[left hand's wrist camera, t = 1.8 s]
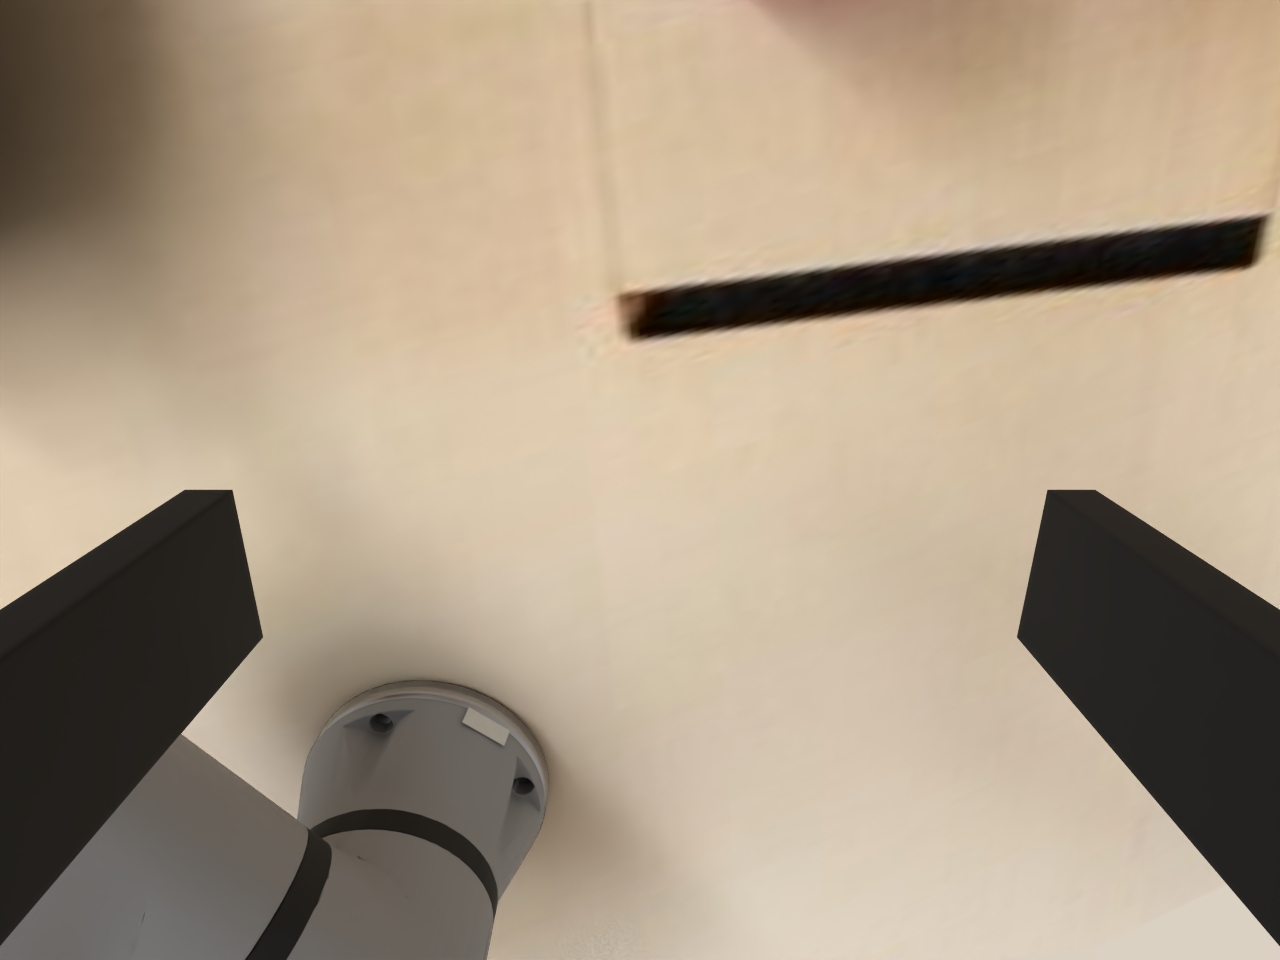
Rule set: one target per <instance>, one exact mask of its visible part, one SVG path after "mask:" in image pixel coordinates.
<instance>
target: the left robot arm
mask: <svg viewBox="0 0 1280 960" xmlns="http://www.w3.org/2000/svg"><path fill="white" fill-rule="evenodd" d="M262 638H263V635H262V630H261V625H260V620H259V616H258V611H257V606H256V601H255V596H254V592H253V587H252V582H251V577H250V572H249V567H248V563H247V558H246V553H245V548H244V543H243V539H242V534H241V529H240V524H239V519H238V515H237V510H236V505H235V500H234V495H233V491H232V490H184V491H182V492H181V493H179V494H178V495H176V496H175V497H173V498H172V499H170V500H169V501H167V502H165V503H164V504H162V505H161V506H159V507H158V508H156V509H155V510H153V511H152V512H150V513H149V514H147V515H145V516H144V517H142V518H141V519H139V520H138V521H136V522H135V523H133V524H132V525H130V526H129V527H127V528H125V529H124V530H122V531H121V532H119V533H118V534H116V535H115V536H113V537H112V538H110V539H109V540H107V541H105V542H104V543H102V544H101V545H99V546H98V547H96V548H95V549H93V550H92V551H90V552H89V553H87V554H85V555H84V556H82V557H81V558H79V559H78V560H76V561H75V562H73V563H72V564H70V565H69V566H67V567H65V568H64V569H62V570H61V571H59V572H58V573H56V574H55V575H53V576H52V577H50V578H49V579H47V580H45V581H44V582H42V583H41V584H39V585H38V586H36V587H35V588H33V589H32V590H30V591H29V592H27V593H25V594H24V595H22V596H21V597H19V598H18V599H16V600H15V601H13V602H12V603H10V604H9V605H7V606H5V607H4V608H2V609H1V610H0V960H487V955H488V950H489V945H490V939H491V934H492V928H493V923H494V918H495V913H496V908H497V904H498V901H499V899H500V898H501V896H502V894H503V893H504V891H505V889H506V888H507V886H508V884H509V883H510V881H511V879H512V878H513V876H514V874H515V873H516V871H517V870H518V868H519V866H520V865H521V863H522V861H523V860H524V858H525V856H526V855H527V853H528V851H529V850H530V848H531V846H532V845H533V843H534V841H535V839H536V837H537V835H538V833H539V831H540V829H541V826H542V823H543V820H544V815H545V809H546V803H547V796H548V787H549V779H548V770H547V765H546V761H545V758H544V755H543V753H542V751H541V748H540V746H539V744H538V743H537V741H536V739H535V738H534V736H533V735H532V733H531V732H530V731H529V729H528V728H527V727H526V726H525V725H524V724H523V723H522V722H521V720H519V719H518V718H517V717H516V716H515V715H514V714H513V713H512V712H510V711H509V710H508V709H506V708H505V707H504V706H502V705H501V704H499V703H497V702H496V701H494V700H492V699H490V698H489V697H487V696H485V695H483V694H480V693H478V692H475V691H473V690H470V689H467V688H464V687H461V686H457V685H453V684H448V683H442V682H435V681H405V682H397V683H392V684H387V685H383V686H380V687H376V688H374V689H371V690H369V691H366V692H364V693H362V694H360V695H358V696H356V697H355V698H353V699H352V700H350V701H348V702H347V703H346V704H344V705H343V706H342V707H341V708H339V709H338V710H337V712H336V713H335V714H334V715H333V716H332V717H331V718H330V719H329V721H328V722H327V723H326V725H325V727H324V728H323V730H322V731H321V733H320V735H319V737H318V738H317V740H316V742H315V743H314V745H313V747H312V748H311V750H310V753H309V755H308V757H307V760H306V764H305V768H304V773H303V778H302V786H301V794H300V802H299V810H298V817H297V819H295V818H294V817H293V816H291V815H290V814H289V813H287V812H286V811H285V810H283V809H282V808H280V807H279V806H278V805H276V804H275V803H274V802H272V801H271V800H270V799H268V798H267V797H266V796H264V795H263V794H262V793H260V792H259V791H257V790H256V789H255V788H253V787H252V786H251V785H249V784H248V783H247V782H245V781H244V780H243V779H241V778H240V777H239V776H237V775H236V774H234V773H233V772H232V771H230V770H229V769H228V768H226V767H225V766H224V765H222V764H221V763H220V762H218V761H217V760H216V759H214V758H213V757H211V756H210V755H209V754H207V753H206V752H205V751H203V750H202V749H201V748H199V747H198V746H197V745H195V744H194V743H193V742H191V741H190V740H188V739H187V738H186V737H184V736H183V735H182V734H181V733H182V732H183V731H184V729H185V728H186V727H187V726H188V725H189V724H190V722H191V721H192V720H193V719H194V718H195V717H196V715H197V714H198V713H199V712H200V711H201V709H202V708H203V707H204V706H205V705H206V704H207V702H208V701H209V700H210V699H211V698H212V697H213V695H214V694H215V693H216V692H217V691H218V689H219V688H220V687H221V686H222V685H223V684H224V682H225V681H226V680H227V679H228V678H229V677H230V675H231V674H232V673H233V672H234V671H235V670H236V668H237V667H238V666H239V665H240V664H241V662H242V661H243V660H244V659H245V658H246V657H247V655H248V654H249V653H250V652H251V651H252V650H253V648H254V647H255V646H256V645H257V644H258V642H259V641H260V640H261V639H262ZM1017 638H1018V639H1019V640H1020V641H1021V642H1022V644H1023V645H1024V646H1025V647H1026V648H1027V650H1028V651H1029V652H1030V653H1031V654H1032V655H1033V657H1034V658H1035V659H1036V660H1037V661H1038V662H1039V664H1040V665H1041V666H1042V667H1043V668H1044V670H1045V671H1046V672H1047V673H1048V674H1049V675H1050V677H1051V678H1052V679H1053V680H1054V681H1055V682H1056V684H1057V685H1058V686H1059V687H1060V688H1061V689H1062V691H1063V692H1064V693H1065V694H1066V695H1067V697H1068V698H1069V699H1070V700H1071V701H1072V702H1073V704H1074V705H1075V706H1076V707H1077V708H1078V709H1079V711H1080V712H1081V713H1082V714H1083V715H1084V717H1085V718H1086V719H1087V720H1088V721H1089V722H1090V724H1091V725H1092V726H1093V727H1094V728H1095V729H1096V731H1097V732H1098V733H1099V734H1100V735H1101V737H1102V738H1103V739H1104V740H1105V741H1106V742H1107V744H1108V745H1109V746H1110V747H1111V748H1112V749H1113V751H1114V752H1115V753H1116V754H1117V755H1118V757H1119V758H1120V759H1121V760H1122V761H1123V762H1124V764H1125V765H1126V766H1127V767H1128V768H1129V769H1130V771H1131V772H1132V773H1133V774H1134V775H1135V776H1136V778H1137V779H1138V780H1139V781H1140V782H1141V784H1142V785H1143V786H1144V787H1145V788H1146V789H1147V791H1148V792H1149V793H1150V794H1151V795H1152V796H1153V798H1154V799H1155V800H1156V801H1157V802H1158V804H1159V805H1160V806H1161V807H1162V808H1163V809H1164V811H1165V812H1166V813H1167V814H1168V815H1169V816H1170V818H1171V819H1172V820H1173V821H1174V822H1175V824H1176V825H1177V826H1178V827H1179V828H1180V829H1181V831H1182V832H1183V833H1184V834H1185V835H1186V836H1187V838H1188V839H1189V840H1190V841H1191V842H1192V843H1193V845H1194V846H1195V847H1196V848H1197V849H1198V851H1199V852H1200V853H1201V854H1202V855H1203V856H1204V858H1205V859H1206V860H1207V861H1208V862H1209V863H1210V865H1211V866H1212V867H1213V868H1214V869H1215V871H1216V872H1217V873H1218V874H1219V875H1220V876H1221V878H1222V879H1223V880H1224V881H1225V882H1226V883H1227V885H1228V886H1229V887H1230V888H1231V889H1232V891H1233V892H1234V893H1235V894H1236V895H1237V896H1238V898H1239V899H1240V900H1241V901H1242V902H1243V903H1244V905H1245V906H1246V907H1247V908H1248V909H1249V910H1250V912H1251V913H1252V914H1253V915H1254V916H1255V918H1256V919H1257V920H1258V921H1259V922H1260V923H1261V925H1262V926H1263V927H1264V928H1265V929H1266V930H1267V932H1268V933H1269V934H1270V935H1271V936H1272V938H1273V939H1274V940H1275V941H1276V942H1277V943H1278V945H1279V946H1280V610H1279V609H1278V608H1276V607H1275V606H1273V605H1271V604H1270V603H1268V602H1267V601H1265V600H1264V599H1262V598H1261V597H1259V596H1258V595H1256V594H1255V593H1253V592H1251V591H1250V590H1248V589H1247V588H1245V587H1244V586H1242V585H1241V584H1239V583H1238V582H1236V581H1235V580H1233V579H1231V578H1230V577H1228V576H1227V575H1225V574H1224V573H1222V572H1221V571H1219V570H1218V569H1216V568H1215V567H1213V566H1211V565H1210V564H1208V563H1207V562H1205V561H1204V560H1202V559H1201V558H1199V557H1198V556H1196V555H1195V554H1193V553H1191V552H1190V551H1188V550H1187V549H1185V548H1184V547H1182V546H1181V545H1179V544H1178V543H1176V542H1175V541H1173V540H1171V539H1170V538H1168V537H1167V536H1165V535H1164V534H1162V533H1161V532H1159V531H1158V530H1156V529H1155V528H1153V527H1151V526H1150V525H1148V524H1147V523H1145V522H1144V521H1142V520H1141V519H1139V518H1138V517H1136V516H1135V515H1133V514H1131V513H1130V512H1128V511H1127V510H1125V509H1124V508H1122V507H1121V506H1119V505H1118V504H1116V503H1115V502H1113V501H1111V500H1110V499H1108V498H1107V497H1105V496H1104V495H1102V494H1101V493H1099V492H1098V491H1096V490H1048V491H1047V495H1046V500H1045V505H1044V510H1043V515H1042V519H1041V524H1040V529H1039V534H1038V539H1037V543H1036V548H1035V553H1034V558H1033V563H1032V567H1031V572H1030V577H1029V582H1028V587H1027V592H1026V596H1025V601H1024V606H1023V611H1022V616H1021V620H1020V625H1019V630H1018V635H1017Z"/></svg>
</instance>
